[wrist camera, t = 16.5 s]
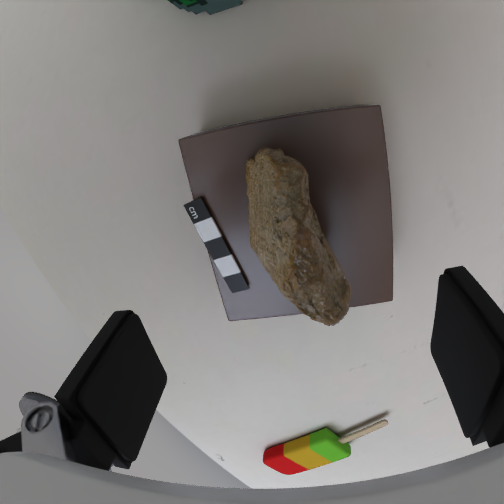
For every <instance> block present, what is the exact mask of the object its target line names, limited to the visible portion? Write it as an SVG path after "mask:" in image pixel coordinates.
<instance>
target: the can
mask: <svg viewBox="0 0 504 504" xmlns="http://www.w3.org/2000/svg"><path fill="white" fill-rule="evenodd" d="M168 1H170V2H171V3H172V4H174V5H175V6H176V7H178V8H179V9H183V8H184V9H185V10H186V11H188V12H189V11H193V12H194V13H195V14H199V13H201V12H204V11H207V12H208V13H209V14H210V15H211V14H214V13H217V12H220V11H223V10H226V9H229V8H232V7H235V6H238V5H241V4H242V2H241V0H168Z"/></svg>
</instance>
